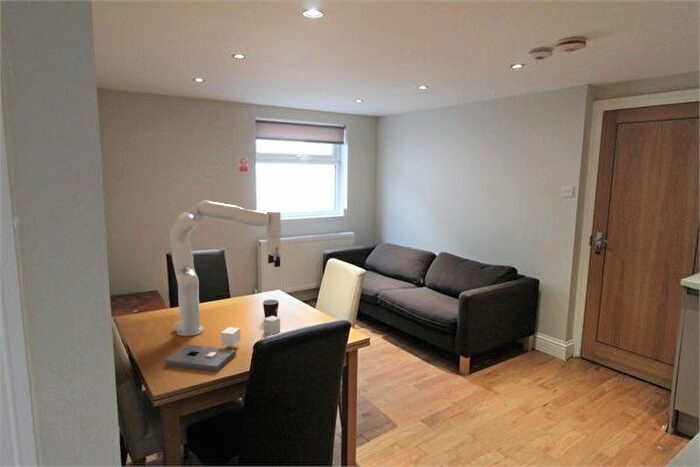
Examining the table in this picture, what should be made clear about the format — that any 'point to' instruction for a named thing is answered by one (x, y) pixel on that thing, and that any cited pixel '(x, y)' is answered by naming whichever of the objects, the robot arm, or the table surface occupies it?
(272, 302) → the coffee mug
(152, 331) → the table surface
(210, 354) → the socket plate
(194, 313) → the robot arm
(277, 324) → the skincare box
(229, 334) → the plug
